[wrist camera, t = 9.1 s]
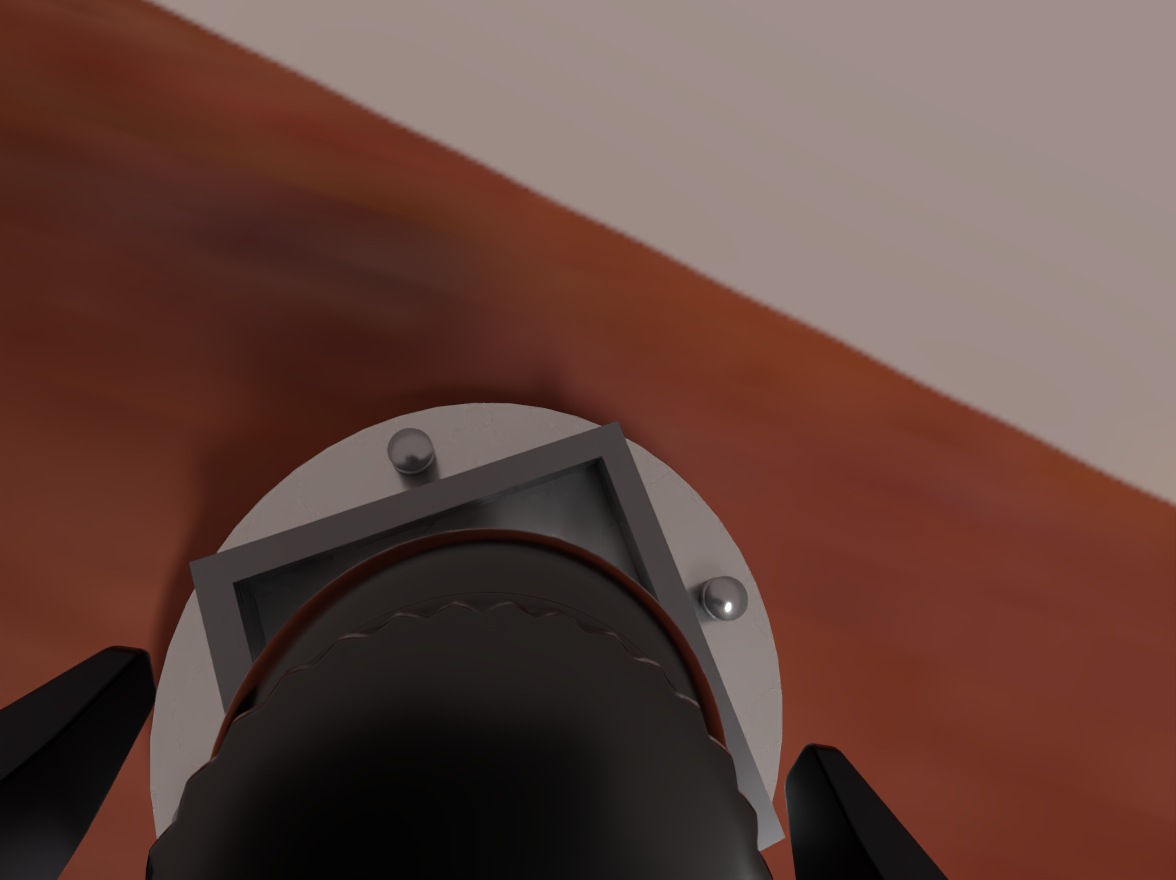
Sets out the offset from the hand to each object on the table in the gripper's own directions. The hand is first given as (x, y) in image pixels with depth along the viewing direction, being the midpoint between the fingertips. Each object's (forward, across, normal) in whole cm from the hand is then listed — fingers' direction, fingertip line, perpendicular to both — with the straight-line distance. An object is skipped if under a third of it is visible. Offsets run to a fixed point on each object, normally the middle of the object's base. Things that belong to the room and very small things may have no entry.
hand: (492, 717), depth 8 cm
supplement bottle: (+5, 0, +6) cm, 8 cm away
